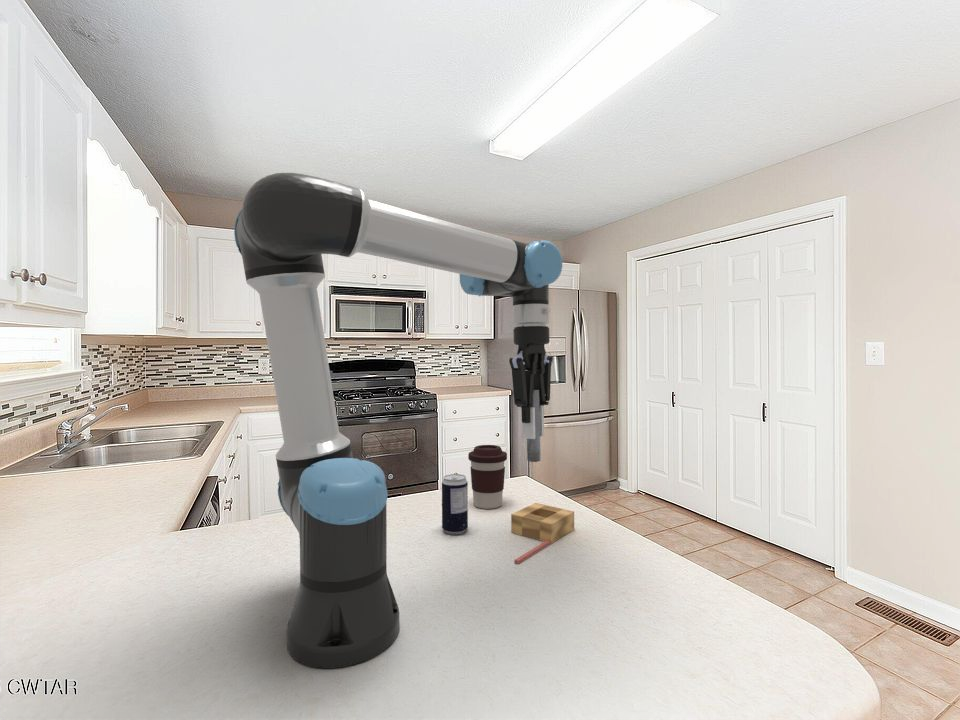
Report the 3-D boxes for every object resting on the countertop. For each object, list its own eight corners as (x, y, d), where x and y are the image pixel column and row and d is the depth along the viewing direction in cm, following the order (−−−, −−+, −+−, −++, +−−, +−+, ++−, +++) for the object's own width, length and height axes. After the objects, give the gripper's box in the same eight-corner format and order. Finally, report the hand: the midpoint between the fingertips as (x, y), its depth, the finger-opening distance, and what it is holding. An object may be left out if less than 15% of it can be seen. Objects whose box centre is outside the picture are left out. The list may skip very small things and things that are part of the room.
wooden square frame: (551, 543, 97) (551, 524, 97) (511, 532, 103) (511, 514, 103) (574, 529, 105) (574, 511, 105) (535, 519, 111) (535, 502, 111)
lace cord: (518, 564, 88) (518, 561, 88) (514, 563, 88) (514, 559, 88) (550, 543, 97) (550, 540, 97) (547, 542, 98) (547, 539, 98)
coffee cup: (462, 502, 124) (462, 445, 124) (496, 497, 129) (496, 442, 128) (478, 513, 115) (478, 452, 115) (514, 507, 120) (513, 448, 119)
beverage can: (469, 526, 107) (469, 473, 107) (466, 536, 101) (465, 480, 101) (444, 525, 107) (444, 473, 107) (439, 535, 102) (439, 480, 102)
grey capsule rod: (535, 462, 98) (534, 390, 98) (524, 460, 100) (523, 390, 100) (543, 459, 100) (541, 389, 100) (532, 458, 102) (530, 388, 102)
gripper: (524, 324, 91) (527, 445, 92) (565, 325, 103) (567, 432, 104) (494, 325, 96) (496, 441, 96) (536, 327, 108) (538, 429, 109)
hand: (533, 436), depth 100 cm, fingers closed on grey capsule rod, 3 cm apart
